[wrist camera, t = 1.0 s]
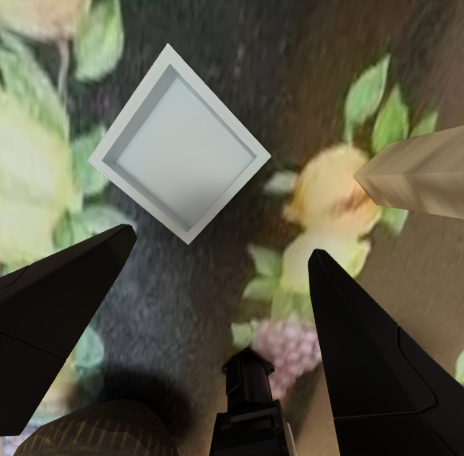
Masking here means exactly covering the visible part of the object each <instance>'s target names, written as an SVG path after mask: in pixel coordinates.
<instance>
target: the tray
mask: <svg viewBox="0 0 464 456" xmlns="http://www.w3.org/2000/svg"><path fill="white" fill-rule="evenodd" d="M270 157H271V155H270V154H269V153H268V152H267V151H266V150H265V149H264V148H263V146H262V145H261V144H260V143H259V142H258V141H257V140H256V139H255V138H254V137H253V136H252V134H251V133H250V132H249V131H248V130H247V129H246V128H245V127H244V126H243V125H242V124H241V122H240V121H239V120H238V119H237V118H236V117H235V116H234V115H233V114H232V113H231V112H230V110H229V109H228V108H227V107H226V106H225V105H224V104H223V103H222V102H221V101H220V100H219V98H218V97H217V96H216V95H215V94H214V93H213V92H212V91H211V90H210V89H209V88H208V87H207V85H206V84H205V83H204V82H203V81H202V80H201V79H200V78H199V77H198V76H197V75H196V73H195V72H194V71H193V70H192V69H191V68H190V67H189V66H188V65H187V64H186V63H185V61H184V60H183V59H182V58H181V57H180V56H179V55H178V54H177V53H176V52H175V51H174V49H173V48H172V47H171V46H170V45H169V44H167V45H166V47H165V48H164V49H163V51H162V52H161V54H160V55H159V57H158V58H157V60H156V61H155V63H154V64H153V66H152V67H151V69H150V70H149V71H148V73H147V74H146V76H145V77H144V79H143V80H142V82H141V83H140V85H139V86H138V88H137V89H136V91H135V92H134V94H133V95H132V96H131V98H130V99H129V101H128V102H127V104H126V105H125V107H124V108H123V110H122V111H121V113H120V114H119V116H118V117H117V118H116V120H115V121H114V123H113V124H112V126H111V127H110V129H109V130H108V132H107V133H106V135H105V136H104V138H103V139H102V140H101V142H100V143H99V145H98V146H97V148H96V149H95V151H94V152H93V154H92V155H91V157H90V158H89V160H88V162H89V163H90V164H91V165H93V166H94V167H95V168H96V169H97V170H99V171H100V172H101V173H102V174H104V175H105V176H106V177H107V178H108V179H110V180H111V181H112V182H113V183H114V184H116V185H117V186H118V187H119V188H120V189H122V190H123V191H124V192H125V193H126V194H128V195H129V196H130V197H131V198H132V199H134V200H135V201H136V202H137V203H138V204H140V205H141V206H142V207H143V208H144V209H146V210H147V211H148V212H149V213H150V214H152V215H153V216H154V217H155V218H156V219H158V220H159V221H160V222H161V223H163V224H164V225H165V226H166V227H167V228H169V229H170V230H171V231H172V232H173V233H175V234H176V235H177V236H178V237H179V238H181V239H182V240H183V241H184V242H185V243H187V244H188V245H189V244H190V242H191V241H192V240H193V239H194V238H195V237H196V236H197V235H198V234H199V233H200V232H201V231H202V230H203V229H204V228H205V226H206V225H207V224H208V223H209V222H210V221H211V220H212V219H213V218H214V217H215V216H216V215H217V214H218V213H219V212H220V210H221V209H222V208H223V207H224V206H225V205H226V204H227V203H228V202H229V201H230V200H231V199H232V198H233V197H234V196H235V195H236V193H237V192H238V191H239V190H240V189H241V188H242V187H243V186H244V185H245V184H246V183H247V182H248V181H249V180H250V179H251V177H252V176H253V175H254V174H255V173H256V172H257V171H258V170H259V169H260V168H261V167H262V166H263V165H264V164H265V163H266V161H267V160H268V159H269V158H270Z"/></svg>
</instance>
